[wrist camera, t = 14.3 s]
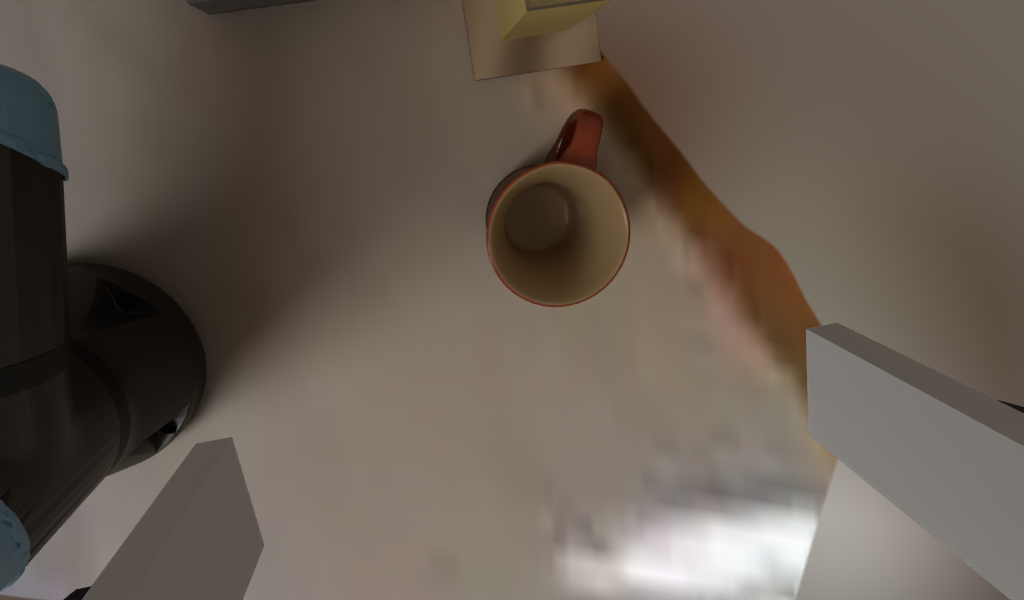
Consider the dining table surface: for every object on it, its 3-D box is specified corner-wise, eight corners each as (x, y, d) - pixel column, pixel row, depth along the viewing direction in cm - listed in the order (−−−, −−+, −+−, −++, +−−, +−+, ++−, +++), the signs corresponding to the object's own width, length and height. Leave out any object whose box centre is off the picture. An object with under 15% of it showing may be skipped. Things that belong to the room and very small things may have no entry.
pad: (474, 80, 45) (475, 80, 45) (452, -61, 43) (452, -64, 42) (599, 62, 46) (601, 61, 46) (584, -79, 44) (586, -81, 43)
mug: (569, 284, 50) (603, 322, 40) (460, 253, 49) (468, 286, 39) (620, 131, 48) (670, 133, 38) (507, 93, 46) (529, 85, 36)
